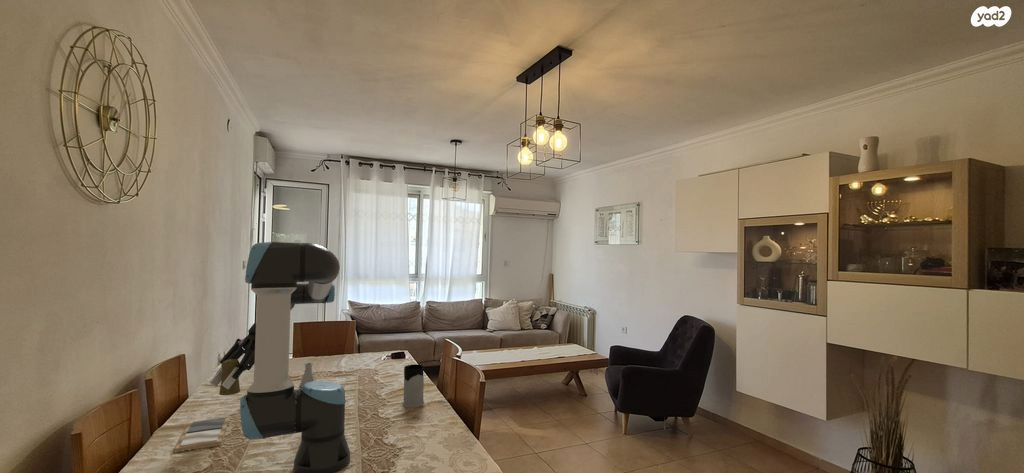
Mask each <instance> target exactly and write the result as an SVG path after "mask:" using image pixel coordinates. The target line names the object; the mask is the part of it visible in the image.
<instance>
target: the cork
mask: <svg viewBox="0 0 1024 473" xmlns="http://www.w3.org/2000/svg"><path fill="white" fill-rule="evenodd" d="M239 364H240V361H239V359H238V360H236V359H229V360H225V361H224V362H223V363H222V364H221V365H220V368H221V367H222V370H223V375H222V380H221V382H220V388H219V393H218V394H219V395H220V396H232V395H236V394H238V393H240V392H241V387H240V380H239V377H240V376H239V377H238V379H236V380H235V382H234V383H233V384H232V386H231V387H230V388H229V389H226V388H225V387H224V386H222V384H223V382H224V381H225V380H226V379H227V377H228V376H229V375H230V373H231V372H232V371H233V370H234V368H235V367H237V365H239ZM237 368H238V367H237Z"/></svg>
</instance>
